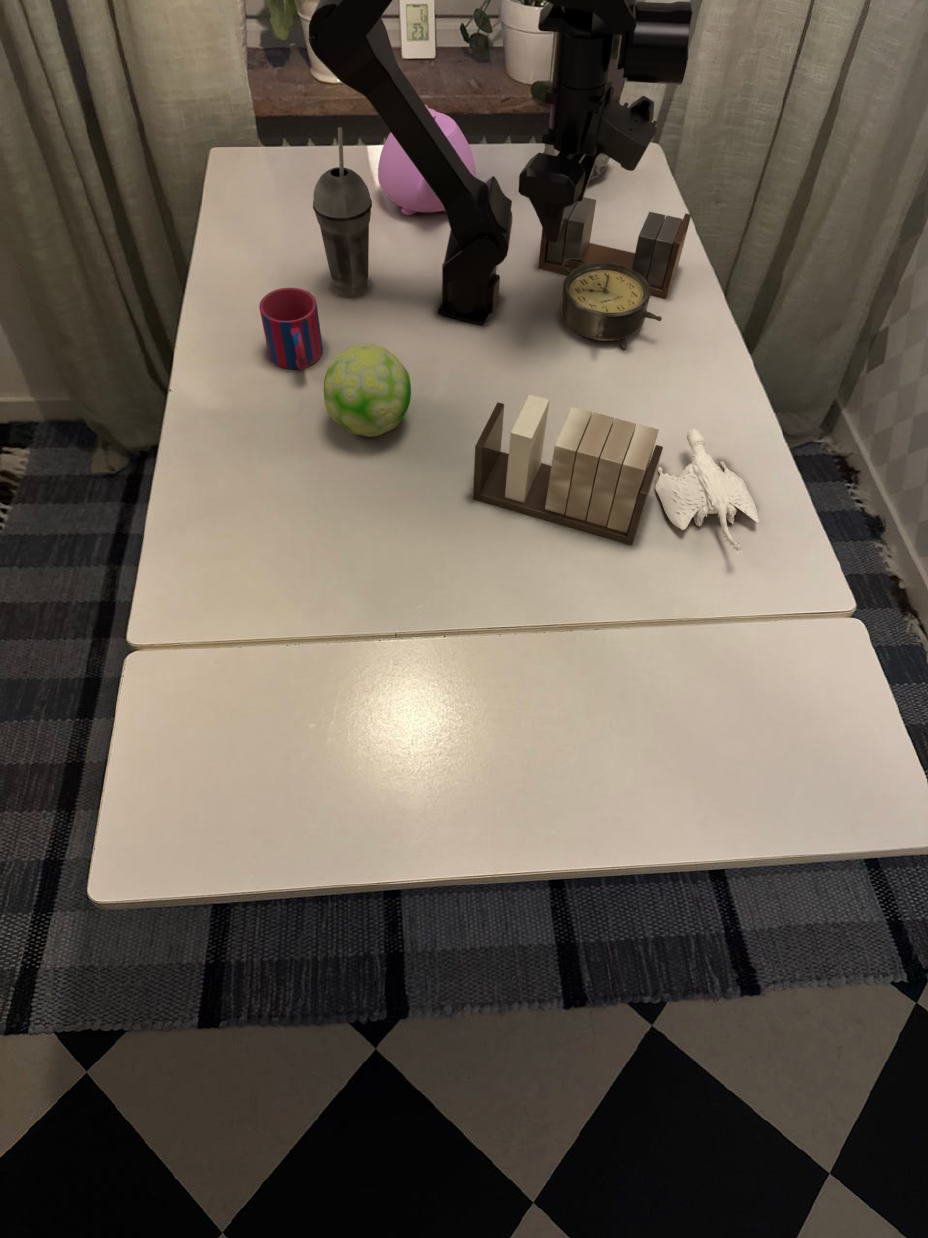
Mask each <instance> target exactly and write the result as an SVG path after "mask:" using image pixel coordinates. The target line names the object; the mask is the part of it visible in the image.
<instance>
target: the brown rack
mask: <svg viewBox="0 0 928 1238" xmlns="http://www.w3.org/2000/svg"><path fill="white" fill-rule="evenodd" d="M504 413H505V403H503V402H496V404H495V406H494V408H493V410H492V412H491V414H490V416H489V418H488V420H487V422H486V424H485V426H484V428H483V430H482V431H481V434H480V436H479V438H478V440H477V442H476V444H475V445H474V465H473V466H474V468H473V486H472V487H473V488H472V499H473V500H476V501H478V502H479V501H480V502H483V503H487V504H490V505H494V506H497V507H500V508H503V509H506V510H507V509H508V510H511V511H514V512H517V513H521V514H525V515H528V516H531V517H535V518H538V519H542V520H544V521H549V522H552V523H556V524H559V525H562V526H565V527H568V528H573V529H576V530H580V531H583V532H587V533H590V534H593V535H597V536H601V537H604V538H607V539H610V540H614V541H617V542H620V543H623V544H627V545H630V546H633V545H634V542H635V539H636V536H637V533H638V530H639V527H640V524H641V521H642V518H643V515H644V512H645V508H646V506H647V503H648V499H649V497H650V493H651V489H652V487H653V483H654V479H655V476H656V473H657V471H658V467H659V463H660V459H661V456H662V453H663V450H664V446H662V445H659V444H656V441H657V438H658V434H659V430H660V429H659V428H655V427H652V426H647V425H643V424H640V423H636V422H632V421H629V420H625V419H621V418H616V417H613V416H610V415H606V414H602V413H598V412H595V411H594V412H592V411H591V410H587V409H583V408H579V407H575V406H571V407H570V408H569V411H568V413H567V416H566V418H565V420H564V423H563V425H562V427H561V430H560V432H559V434H558V437H557V438H556V441H555V444H554V448H553V454H552V459H551V465H550V464H546V463H542V462H541V465H540V468H539V470H538V472H537V474H536V477H535V479H534V481H533V483H532V486H531V488H530V490H529V493H528V495H527V497H526V499H525V502H524V503H523V502H519V501H516V500H513V499H509V498H506V497H505V490H506V479H507V468H508V457H509V453H507V452H503V451H502V438H503V425H504V415H505V414H504Z"/></svg>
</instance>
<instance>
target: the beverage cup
mask: <svg viewBox="0 0 928 1238" xmlns="http://www.w3.org/2000/svg"><path fill="white" fill-rule="evenodd" d="M337 137H338V138H337V141H338V164H339V166H336V167H332V168H330V169H328V170H326V171H324V172H323V174H322V175H321V176H320V177H319V178H318V180H317V182H316V183H315V186H314V190H313V200H312V209H313V211H314V214H315V217H316V221H317V223H318V226H319V228H320V233H321V238H322V242H323V247H324V252H325V256H326V261H327V265H328V270H329V274H330V280H331V281H332V285H333V290H334V291H335V293H336V294H337V295H339V296H340V297H343V298H344V297H345V298H356V297H357V298H358V297H360V296H362V295H364V294H365V293H366V292H367V290H368V288H369V286H368V284H369V283H368V282H369V262H370V261H369V258H370V257H369V256H370V255H369V254H370V253H369V251H370V249H369V247H370V222H371V216H372V208H373V201H372V198H371V194H370V190H369V188H368V185H367V184H366V182H365V181H364V179H363V177H362V176H360V174H359V173H357V172H355V170H353V169H350V168H348V167H345V164H344V139H343V127H341V126H339V127H337Z"/></svg>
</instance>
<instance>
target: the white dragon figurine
mask: <svg viewBox="0 0 928 1238" xmlns="http://www.w3.org/2000/svg"><path fill="white" fill-rule="evenodd" d="M686 439H687V442H688V445H689V447H690V449H691V450H692V458H691V462H689V463H688V465H686V466H685V469H682V474H680V475H679V476H677V477H676V476H675V474H674V473H672V474H669V473H668V472H665V473H663V471H664V470H663V468H662V467H661V466H658V467H657V472H658V474H659V477H658V479H657V481H656V484H655V491H656V493H657V495H658V497H659V499H660V502H661V505H662V507H663V510H664V513H665V515H666V516H667V518H668V520H669V521H670V522H671V523H672V524H673V525H674V526H675V527H677V528H678V529H680V530H681V531H683V530H686V529H687V528H688V525H689V524H690V523H691V520H692V518H693V521H694V523H695V525H696V526H698V527H701V526H703V523H704V518H705V517H708V515H709V514H710V515H715V514H717V519H719V520H718V521H719V524H720V529H721V534H722V535H723V538H725V539H724V542H726V543H729V545H730V546H732V551H734V550H735V551H736V554H737V555H739V551H740V552H742V546H741V544H740V543H737V542H736V541H735V540H734V539H733V537H732V535H731V533H730V531H729V528H728V523H731V524H734V522H735V515H736V513H738V510H740V511H741V512H743V513H744V514H745V515H747V516H748V517H749V518H750V519H752V520H753V521H754V522H756V523H760V519H759V516H758V510H757V507H756V506H757V505H756V503H755V501H754V499H753V497H752V495H751V493H750V491H749V488H748V487H747V485H746V483H745V481H744V480H743V478H741V477H740V476H739V475H737V474H736V472H733V471H731V470H730V469H729V468H728V467H727V465H726V462H725V461H724V460H722V461H719V463H720V466H718V464H717V463H715V461H714V460H713V458H712V457H713V456H711V455H710V454H709V453H707V450H706V447H705V445H706V442H705V438H704V436H703V435H702V434H701V432H700V431H699V430H698V429H695V428H693V429H689V430H688V431H687V433H686ZM721 467H722V468H723V470H722V468H721ZM727 522H728V523H727Z"/></svg>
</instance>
